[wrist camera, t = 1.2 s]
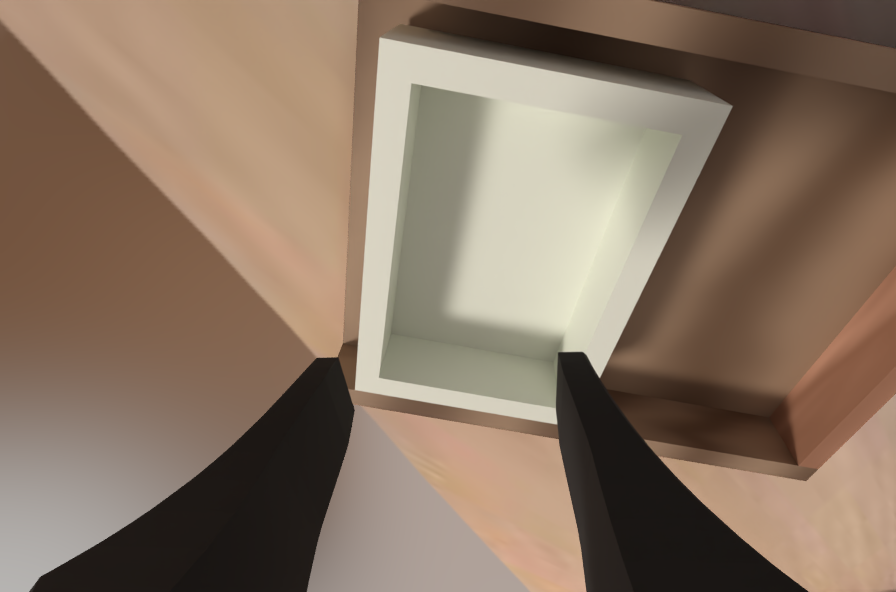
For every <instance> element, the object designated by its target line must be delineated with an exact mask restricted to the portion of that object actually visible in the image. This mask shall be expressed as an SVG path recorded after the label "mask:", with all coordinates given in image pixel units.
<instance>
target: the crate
mask: <svg viewBox="0 0 896 592" xmlns="http://www.w3.org/2000/svg"><path fill="white" fill-rule="evenodd" d="M732 107H733V106H732V105H730V104H729V103H727V102H725V101H724V100H722V99H720V98H719V97H717V96H715V95H714V94H712V93H710V92H709V91H707V90H705V89H704V88H702V87H700V86H699V85H697V84H695V83H694V82H692V81H690V80H686V79H681V78H676V77H671V76H666V75H661V74H656V73H651V72H646V71H640V70H635V69H630V68H625V67H620V66H615V65H610V64H605V63H599V62H594V61H589V60H584V59H579V58H574V57H569V56H564V55H558V54H553V53H548V52H543V51H538V50H533V49H528V48H523V47H517V46H512V45H507V44H502V43H497V42H492V41H487V40H482V39H476V38H471V37H466V36H461V35H456V34H451V33H446V32H441V31H435V30H430V29H425V28H420V27H415V26H410V25H405V24H399V25H398V26H396V27H395V28H393V29H392V30H390V31H389V32H387V33H386V34H384V35H383V36H381V37H380V38H379V53H378V67H377V81H376V95H375V110H374V124H373V138H372V152H371V167H370V181H369V195H368V209H367V224H366V238H365V252H364V266H363V281H362V295H361V309H360V323H359V338H358V352H357V366H356V380H355V390H358V391H363V392H369V393H375V394H381V395H387V396H393V397H399V398H404V399H410V400H416V401H422V402H428V403H434V404H440V405H445V406H451V407H457V408H463V409H469V410H475V411H481V412H487V413H492V414H498V415H504V416H510V417H516V418H522V419H528V420H533V421H539V422H545V423H551V424H557V416H556V387H557V362H558V352H584V353H585V354H586V355H587V357H588V359H589V361H590V363H591V364H592V366H593V368H594V370H595V371H596V373H597V375H598V376H599V378H600V377H601V375H602V372H603V370H604V368H605V366H606V364H607V362H608V360H609V358H610V356H611V354H612V352H613V350H614V348H615V346H616V344H617V342H618V340H619V338H620V336H621V334H622V332H623V330H624V328H625V326H626V323H627V321H628V319H629V317H630V315H631V313H632V311H633V309H634V307H635V305H636V303H637V301H638V299H639V297H640V295H641V293H642V291H643V289H644V287H645V285H646V283H647V281H648V279H649V276H650V274H651V272H652V270H653V268H654V266H655V264H656V262H657V260H658V258H659V256H660V254H661V252H662V250H663V248H664V246H665V244H666V242H667V240H668V238H669V236H670V234H671V232H672V229H673V227H674V225H675V223H676V221H677V219H678V217H679V215H680V213H681V211H682V209H683V207H684V205H685V203H686V201H687V199H688V197H689V195H690V193H691V191H692V189H693V187H694V185H695V183H696V180H697V178H698V176H699V174H700V172H701V170H702V168H703V166H704V164H705V162H706V160H707V158H708V156H709V154H710V152H711V150H712V148H713V146H714V144H715V142H716V140H717V138H718V136H719V133H720V131H721V129H722V127H723V125H724V123H725V121H726V119H727V117H728V115H729V113H730V111H731V109H732Z"/></svg>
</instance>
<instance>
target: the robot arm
mask: <svg viewBox="0 0 896 592" xmlns="http://www.w3.org/2000/svg"><path fill="white" fill-rule="evenodd" d="M354 411H355V410H354V406H353V403H352V400H351V396H350V393H349V390H348V387H347V383H346V380H345V377H344V374H343V370H342V367H341V364H340V361H339V357H336V358H316V359H315V360H314V362H313V363H312V364H311V365H310V366H309V367H308V368H307V369H306V370H305V371H304V372H303V373H302V374H301V376H300V377H299V378H298V379H297V380H296V381H295V382H294V383H293V384H292V385H291V386H290V388H289V389H288V390H287V391H286V392H285V393H284V394H283V395H282V396H281V397H280V398H279V399H278V400H277V401H276V403H274V405H273V406H272V407H271V408H270V409H269V410H268V411H267V412H266V413H265V414H264V415H263V416H262V417H261V418H260V419H259V420H258V421H257V422H256V423H255V424H254V425H253V426H252V427H251V428H250V429H249V430H248V431H247V432H246V433H245V434H244V435H243V436H242V437H241V438H239V440H237V441H236V442H235V443H234V445H232V446H231V447H230V448H229V449H228V450H227V451H225V452H224V453H223V454H222V455H221V456H220V457H219V458H217V459H216V460H215V461H214V462H213V463H211V464H210V465H209V466H208V467H207V468H205V469H204V470H203V471H202V472H201V473H199V474H198V475H197V476H196V477H194V478H193V479H192V480H191V481H189V482H188V483H186V484H185V485H184V486H182V487H181V488H180V489H178V490H177V491H176V492H174V493H173V494H172V495H170V496H169V497H168V498H166V499H165V500H163V501H162V502H161V503H160V504H158V505H157V506H156V507H154V508H153V509H151V510H150V511H148V512H147V513H145V514H144V515H142V516H141V517H139V518H138V519H137V520H135V521H133V522H132V523H130V524H129V525H127V526H126V527H124V528H122V529H121V530H120V531H118V532H116V533H115V534H113V535H112V536H110V537H108V538H107V539H105V540H104V541H102V542H100V543H99V544H97V545H95V546H94V547H92V548H90V549H88V550H87V551H85V552H83V553H81V554H80V555H78V556H76V557H75V558H73V559H71V560H69V561H68V562H66V563H64V564H62V565H61V566H59V567H57V568H55V569H54V570H52V571H50V572H48V573H46V574H44V575H43V576H41V577H40V578H39V579H38V581H37V582H36V583H35V585H34V586H33V588H32V589H31V590H30V591H29V592H307V587H308V582H309V578H310V573H311V569H312V564H313V560H314V555H315V550H316V546H317V542H318V538H319V534H320V531H321V528H322V524H323V521H324V518H325V515H326V512H327V509H328V506H329V503H330V499H331V497H332V493H333V490H334V487H335V484H336V481H337V478H338V475H339V472H340V469H341V466H342V463H343V460H344V457H345V453H346V450H347V447H348V443H349V438H350V433H351V427H352V422H353V416H354ZM556 416H557V426H558V435H559V444H560V449H561V454H562V459H563V463H564V468H565V473H566V477H567V482H568V487H569V491H570V496H571V500H572V505H573V509H574V514H575V519H576V523H577V528H578V533H579V539H580V544H581V551H582V559H583V567H584V575H585V583H586V591H587V592H808V591H807V590H806V589H804V588H803V587H802V586H800V585H799V584H798V583H796V582H795V581H794V580H792V579H791V578H790V577H788V576H787V575H786V574H784V573H783V572H782V571H781V570H779V569H778V568H777V567H775V566H774V565H773V564H772V563H770V562H769V561H768V560H767V559H765V558H764V557H763V556H762V555H761V554H759V553H758V552H757V551H756V550H755V549H753V548H752V547H751V546H750V545H749V544H747V543H746V542H745V541H744V540H743V539H741V538H740V537H739V536H738V535H737V534H736V533H735V532H734V531H733V530H731V529H730V528H729V527H728V526H727V525H726V524H725V523H724V522H723V521H722V520H720V519H719V518H718V517H717V516H716V515H715V514H714V513H713V512H712V511H711V510H709V509H708V508H707V507H706V506H705V505H704V504H703V503H702V502H701V501H700V500H699V499H698V498H697V497H696V496H695V495H694V494H693V493H692V492H691V491H690V490H689V489H688V488H687V487H686V486H685V485H684V484H683V483H682V482H681V481H680V480H679V479H678V478H677V477H676V476H675V475H674V474H673V473H672V472H671V471H670V470H669V468H668V467H667V466H666V465H665V464H664V463H663V462H662V461H661V460H660V458H659V457H658V456H657V455H656V454H655V453H654V452H653V450H652V449H651V448H650V447H649V446H648V444H647V443H646V442H645V441H644V439H643V438H642V437H641V436H640V435H639V433H638V432H637V431H636V430H635V428H634V427H633V426H632V424H631V423H630V422H629V420H628V419H627V418H626V416H625V415H624V413H623V412H622V411H621V409H620V408H619V407H618V405H617V404H616V402H615V401H614V400H613V398H612V397H611V395H610V394H609V392H608V391H607V389H606V388H605V386H604V384H603V383H602V381H601V380H600V378H599V376H598V375H597V373H596V371H595V370H594V368H593V366H592V364H591V363H590V361H589V359H588V357H587V355H586V354H585V353H584V352H558V362H557V387H556Z"/></svg>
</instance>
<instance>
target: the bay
mask: <svg viewBox="0 0 896 592" xmlns="http://www.w3.org/2000/svg"><path fill="white" fill-rule="evenodd" d="M399 24H405V25H410V26H415V27H420V28H425V29H430V30H435V31H441V32H446V33H451V34H456V35H461V36H466V37H471V38H476V39H482V40H487V41H492V42H497V43H502V44H507V45H512V46H517V47H523V48H528V49H533V50H538V51H543V52H548V53H553V54H558V55H564V56H569V57H574V58H579V59H584V60H589V61H594V62H599V63H605V64H610V65H615V66H620V67H625V68H630V69H635V70H640V71H646V72H651V73H656V74H661V75H666V76H671V77H676V78H681V79H686V80H690V81H692V82H694V83H695V84H697V85H699V86H700V87H702V88H704V89H705V90H707V91H709V92H710V93H712V94H714V95H715V96H717V97H719V98H720V99H722V100H724V101H725V102H727V103H729V104H730V105H732V106H733V107H732V109H731V111H730V113H729V115H728V117H727V119H726V121H725V123H724V125H723V127H722V129H721V131H720V133H719V136H718V138H717V140H716V142H715V144H714V146H713V148H712V150H711V152H710V154H709V156H708V158H707V160H706V162H705V164H704V166H703V168H702V170H701V172H700V174H699V176H698V178H697V180H696V183H695V185H694V187H693V189H692V191H691V193H690V195H689V197H688V199H687V201H686V203H685V205H684V207H683V209H682V211H681V213H680V215H679V217H678V219H677V221H676V223H675V225H674V227H673V229H672V232H671V234H670V236H669V238H668V240H667V242H666V244H665V246H664V248H663V250H662V252H661V254H660V256H659V258H658V260H657V262H656V264H655V266H654V268H653V270H652V272H651V274H650V276H649V279H648V281H647V283H646V285H645V287H644V289H643V291H642V293H641V295H640V297H639V299H638V301H637V303H636V305H635V307H634V309H633V311H632V313H631V315H630V317H629V319H628V321H627V323H626V326H625V328H624V330H623V332H622V334H621V336H620V338H619V340H618V342H617V344H616V346H615V348H614V350H613V352H612V354H611V356H610V358H609V360H608V362H607V364H606V366H605V368H604V370H603V372H602V375H601V377H600V380H601V381H602V383H603V384H604V386H605V388H606V389H607V391H608V392H609V394H610V395H611V397H612V398H613V400H614V401H615V402H616V404H617V405H618V407H619V408H620V409H621V411H622V412H623V413H624V415H625V416H626V418H627V419H628V420H629V422H630V423H631V424H632V426H633V427H634V428H635V430H636V431H637V432H638V433H639V435H640V436H641V437H642V438H643V439H644V441H645V442H646V443H647V444H648V446H649V447H650V448H651V449H652V450H653V452H654V453H655V454H656V455H657V456H661V457H667V458H673V459H679V460H685V461H691V462H697V463H703V464H708V465H714V466H720V467H726V468H732V469H738V470H744V471H750V472H756V473H761V474H767V475H773V476H779V477H785V478H791V479H797V480H803V481H807V480H808V479H809V478H810V477H811V476H812V475H813V474H814V473H815V472H816V471H817V470H818V469H819V468H820V467H821V466H822V465H823V464H824V463H825V462H826V461H827V460H828V459H829V458H830V457H831V456H832V455H833V454H834V453H835V452H836V451H837V450H838V449H839V448H840V447H841V446H842V445H843V444H844V443H845V442H847V441H848V440H849V439H850V438H851V437H852V436H853V435H854V434H855V433H856V432H857V431H858V430H859V429H860V428H861V427H862V426H863V425H864V424H865V423H866V422H867V421H868V420H869V419H870V418H871V417H872V416H873V415H874V414H875V413H876V412H877V411H878V410H879V409H880V408H881V407H882V406H883V405H884V404H885V403H887V402H888V401H889V400H890V399H891V398H892V397H893V396H894V395H895V394H896V48H892V47H887V46H882V45H877V44H872V43H867V42H862V41H857V40H852V39H847V38H842V37H837V36H832V35H827V34H822V33H817V32H812V31H807V30H802V29H797V28H792V27H787V26H782V25H777V24H772V23H767V22H762V21H757V20H752V19H747V18H742V17H737V16H732V15H727V14H722V13H717V12H712V11H707V10H702V9H697V8H692V7H687V6H682V5H677V4H672V3H667V2H662V1H657V0H359V4H358V26H357V48H356V70H355V92H354V114H353V136H352V157H351V179H350V201H349V223H348V245H347V267H346V289H345V311H344V333H343V345H342V347H341V350H340V352H339V355H338V357H339V361H340V364H341V367H342V370H343V374H344V377H345V380H346V383H347V387H348V390H349V393H350V396H351V400H352V403H353V404H355V405H361V406H367V407H373V408H378V409H384V410H390V411H396V412H402V413H408V414H414V415H420V416H426V417H431V418H437V419H443V420H449V421H455V422H461V423H467V424H473V425H479V426H484V427H490V428H496V429H502V430H508V431H514V432H520V433H526V434H532V435H538V436H543V437H549V438H555V439H559V435H558V426H557V424H551V423H545V422H539V421H533V420H528V419H522V418H516V417H510V416H504V415H498V414H492V413H487V412H481V411H475V410H469V409H463V408H457V407H451V406H445V405H440V404H434V403H428V402H422V401H416V400H410V399H404V398H399V397H393V396H387V395H381V394H375V393H369V392H363V391H358V390H355V380H356V366H357V352H358V338H359V323H360V309H361V295H362V281H363V266H364V252H365V238H366V224H367V209H368V195H369V181H370V167H371V152H372V138H373V124H374V110H375V95H376V81H377V67H378V53H379V38H380V37H381V36H383V35H384V34H386V33H387V32H389V31H390V30H392V29H393V28H395V27H396V26H398V25H399Z"/></svg>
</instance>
